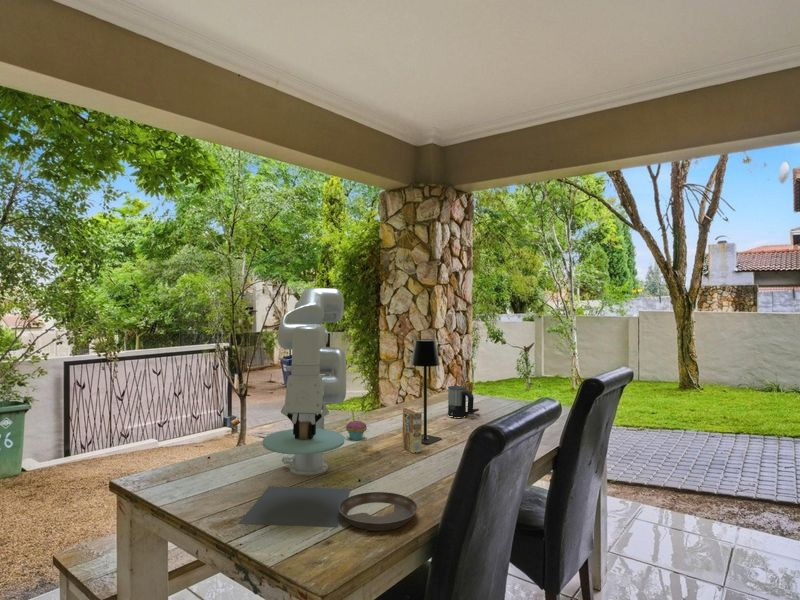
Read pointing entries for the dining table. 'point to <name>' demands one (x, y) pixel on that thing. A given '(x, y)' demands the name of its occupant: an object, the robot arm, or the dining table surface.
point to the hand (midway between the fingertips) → (304, 436)
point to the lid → (303, 441)
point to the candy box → (412, 429)
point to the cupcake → (356, 429)
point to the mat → (297, 507)
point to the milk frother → (459, 401)
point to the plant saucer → (398, 518)
